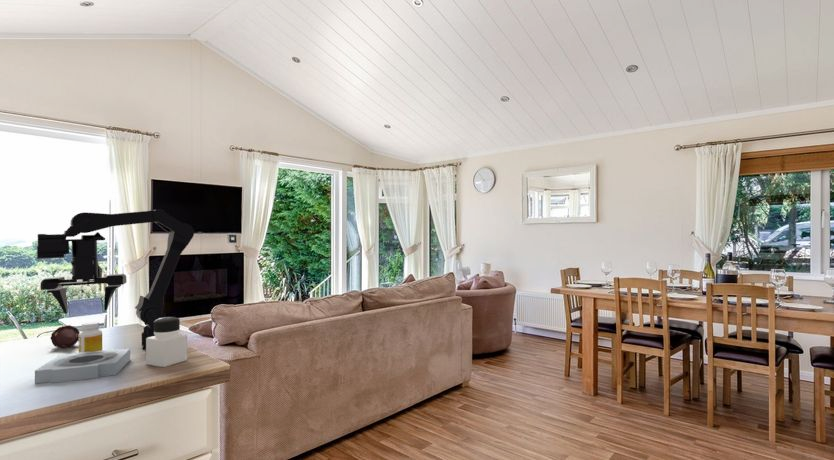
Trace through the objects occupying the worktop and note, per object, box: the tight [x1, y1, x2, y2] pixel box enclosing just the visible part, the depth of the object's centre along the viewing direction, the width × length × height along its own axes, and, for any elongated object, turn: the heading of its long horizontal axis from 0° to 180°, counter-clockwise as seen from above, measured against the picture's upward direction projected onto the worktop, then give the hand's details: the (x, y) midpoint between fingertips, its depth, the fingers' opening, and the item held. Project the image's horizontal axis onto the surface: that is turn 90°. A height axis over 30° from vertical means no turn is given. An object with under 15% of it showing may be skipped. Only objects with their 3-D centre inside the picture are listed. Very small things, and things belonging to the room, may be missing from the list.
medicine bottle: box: [145, 316, 188, 368], centre depth 117 cm, size 7×7×12 cm
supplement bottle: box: [78, 321, 103, 353], centre depth 122 cm, size 5×5×10 cm
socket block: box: [34, 348, 131, 384], centre depth 110 cm, size 16×16×3 cm
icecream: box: [50, 324, 81, 349], centre depth 134 cm, size 7×7×15 cm
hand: (86, 311), depth 123 cm, fingers open, 9 cm apart
